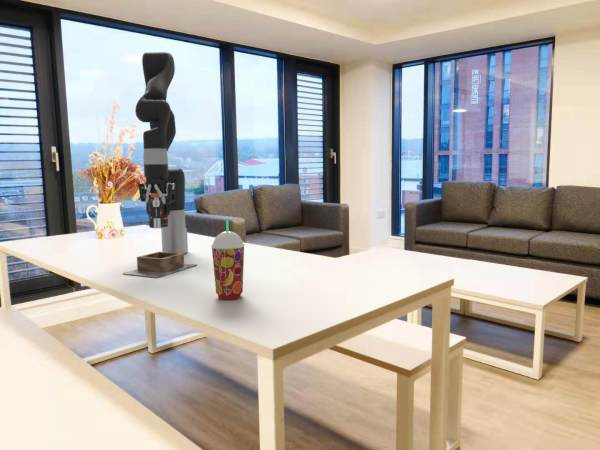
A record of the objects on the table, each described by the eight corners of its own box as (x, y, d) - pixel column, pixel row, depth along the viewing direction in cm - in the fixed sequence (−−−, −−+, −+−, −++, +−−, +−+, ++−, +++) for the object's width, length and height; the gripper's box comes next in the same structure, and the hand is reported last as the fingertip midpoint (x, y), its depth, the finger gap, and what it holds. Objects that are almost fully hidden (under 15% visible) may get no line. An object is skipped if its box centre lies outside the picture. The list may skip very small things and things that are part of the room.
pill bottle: (162, 228, 155) (161, 193, 154) (145, 228, 156) (144, 193, 155) (171, 226, 161) (169, 192, 160) (155, 226, 162) (153, 192, 161)
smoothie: (214, 293, 129) (212, 219, 127) (246, 292, 130) (244, 218, 128) (211, 302, 121) (208, 222, 119) (245, 301, 122) (243, 222, 119)
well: (165, 262, 172) (164, 249, 172) (197, 265, 166) (196, 251, 166) (122, 274, 154) (121, 259, 154) (156, 278, 148) (156, 262, 148)
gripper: (181, 162, 157) (183, 214, 159) (146, 163, 163) (149, 213, 165) (165, 162, 150) (168, 217, 152) (130, 163, 156) (133, 215, 158)
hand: (158, 214), depth 158 cm, fingers closed on pill bottle, 6 cm apart
